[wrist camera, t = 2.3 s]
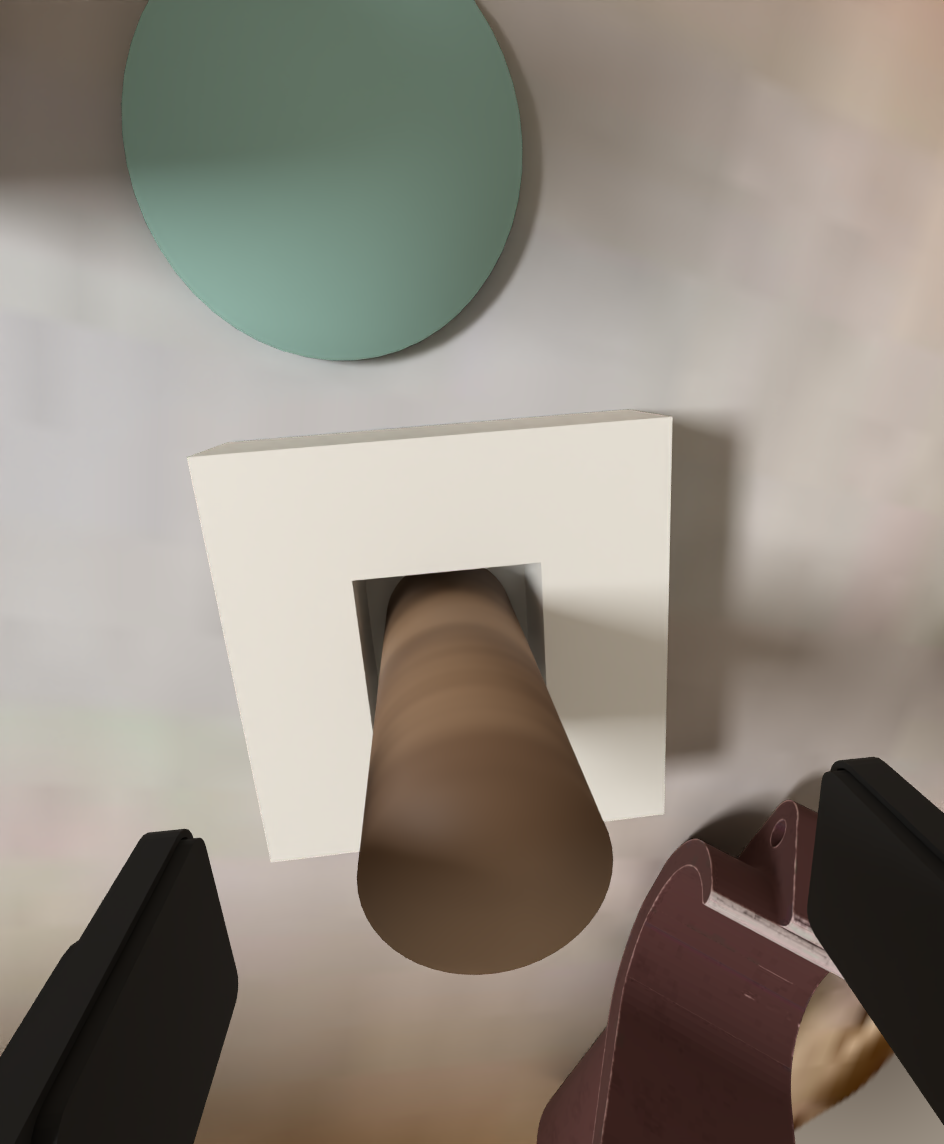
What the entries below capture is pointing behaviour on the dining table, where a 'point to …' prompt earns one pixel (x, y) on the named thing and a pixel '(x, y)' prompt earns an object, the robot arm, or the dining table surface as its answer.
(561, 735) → the walnut dowel
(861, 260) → the dining table surface
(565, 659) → the pocket block
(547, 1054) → the dining table surface
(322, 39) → the felt pad
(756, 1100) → the bracket
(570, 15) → the dining table surface
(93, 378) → the dining table surface
